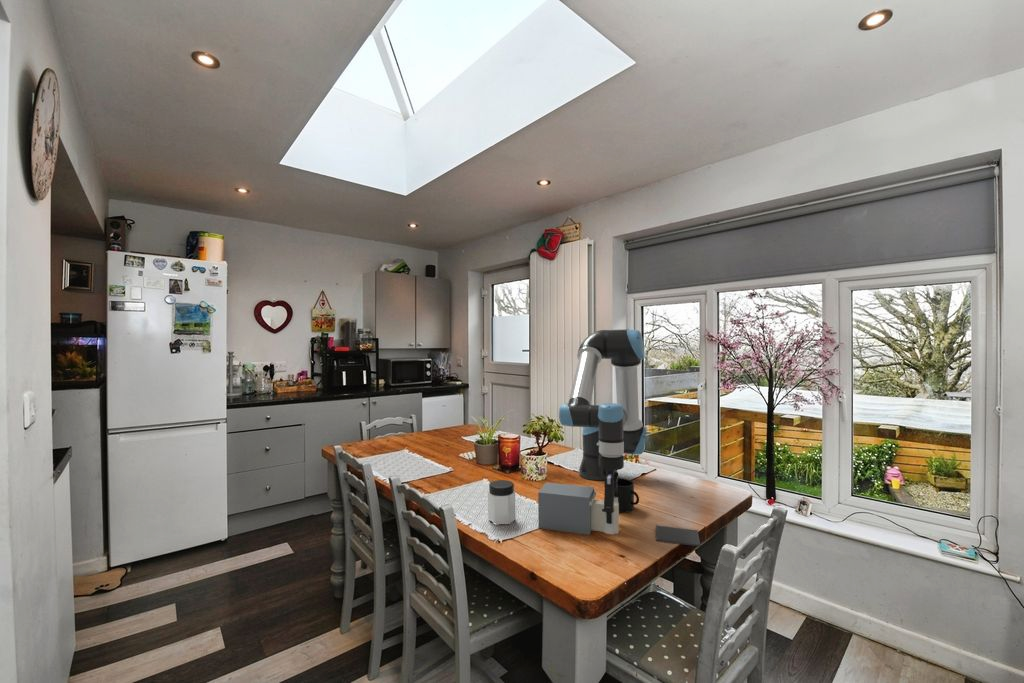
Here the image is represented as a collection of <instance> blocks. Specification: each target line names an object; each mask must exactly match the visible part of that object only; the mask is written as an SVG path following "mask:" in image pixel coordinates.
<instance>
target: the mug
mask: <svg viewBox="0 0 1024 683" xmlns="http://www.w3.org/2000/svg"><path fill="white" fill-rule="evenodd" d="M618 490H619V491H618V493H620V497H618V496H616V497H618V503H619V513H631V512H632V511H634V510H635V505H636V506H637V505H638V504H639V502H640V496H639V494H638V493H637V492H636V491H635V484H634V481H632V480H631V479H628V478H625V477H618ZM635 498H636V499H635Z"/></svg>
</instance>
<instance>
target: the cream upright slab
mask: <svg viewBox="0 0 1024 683" xmlns="http://www.w3.org/2000/svg"><path fill="white" fill-rule="evenodd" d="M607 508H609V507H607ZM602 509H604V500H600V499H594V501H593V503H592V506H591V531H593V532H595V531H596V532H602V533H605V512H602ZM613 510H614V534H617V535H618V534H619V531H620V522H619V521H620V518H619V517H620V514H619V513H620V512H619V503H618V502H614V509H613Z"/></svg>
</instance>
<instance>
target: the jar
mask: <svg viewBox="0 0 1024 683" xmlns="http://www.w3.org/2000/svg"><path fill="white" fill-rule="evenodd" d="M488 488H489V490H488V491H487V512H488V513H487V520H488V519H490V520H491V521H492V522H493V523H496V524H509V525H511V524H512V523H513V522H515V521H516V491H515V483H514V482H513V481H511V480H508V479H507V480H506V479H497V480H494V481H490V483H489V487H488ZM514 520H515V521H514ZM512 521H513V522H512ZM511 522H512V523H511ZM493 523H492V524H493ZM510 523H511V524H510Z"/></svg>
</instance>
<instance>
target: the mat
mask: <svg viewBox="0 0 1024 683" xmlns="http://www.w3.org/2000/svg"><path fill="white" fill-rule="evenodd" d="M655 527H656V528H655V529H656V530H655V540H656V542H660V543H661V542H662V543H663V542H664V543H670V544H676V543H679V545H684V546H690V547H691V546H692V547H700V548H701V545H702V544H701V541H700V535H699V531H698V529H690V528H681V527H674V526H666V525H665V526H664V525H658V524H657V525H656V526H655Z"/></svg>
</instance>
